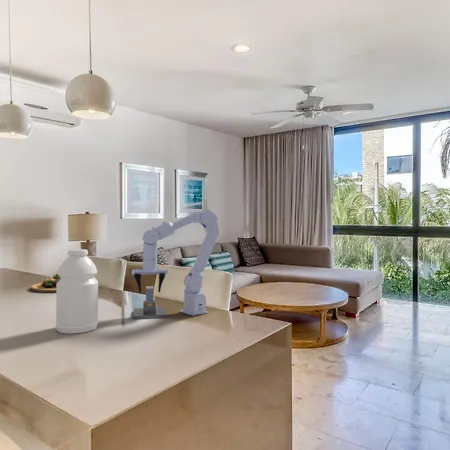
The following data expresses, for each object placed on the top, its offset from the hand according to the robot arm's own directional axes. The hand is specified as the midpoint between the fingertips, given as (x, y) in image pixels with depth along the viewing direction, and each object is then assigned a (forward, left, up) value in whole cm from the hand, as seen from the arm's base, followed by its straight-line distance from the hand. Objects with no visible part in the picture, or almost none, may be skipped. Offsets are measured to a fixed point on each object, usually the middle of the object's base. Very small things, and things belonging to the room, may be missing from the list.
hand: (149, 292), depth 152 cm
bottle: (-2, +30, -9) cm, 32 cm away
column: (0, 0, -5) cm, 5 cm away
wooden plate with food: (+87, +8, -10) cm, 88 cm away
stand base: (0, 0, -9) cm, 9 cm away
